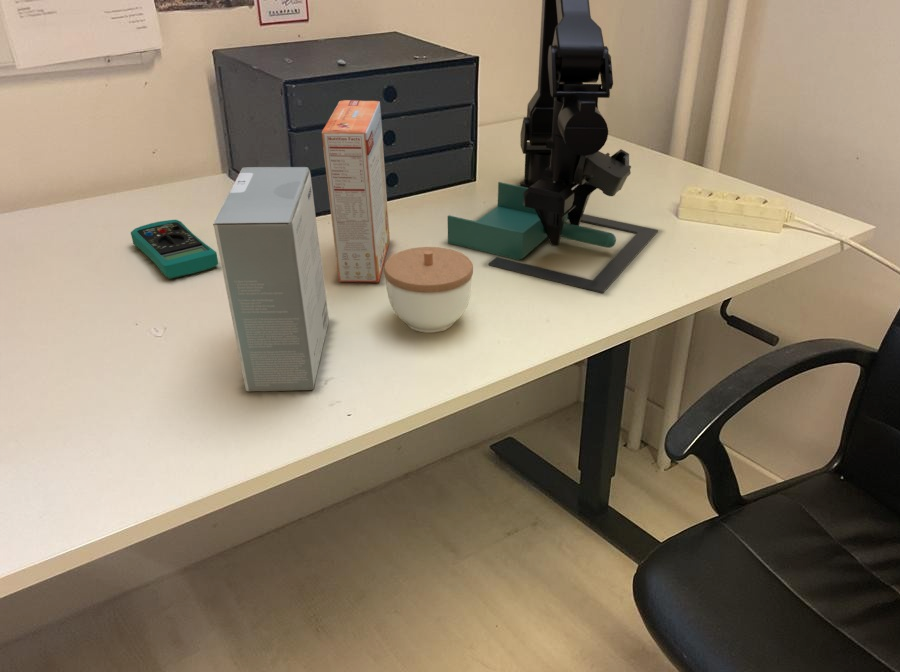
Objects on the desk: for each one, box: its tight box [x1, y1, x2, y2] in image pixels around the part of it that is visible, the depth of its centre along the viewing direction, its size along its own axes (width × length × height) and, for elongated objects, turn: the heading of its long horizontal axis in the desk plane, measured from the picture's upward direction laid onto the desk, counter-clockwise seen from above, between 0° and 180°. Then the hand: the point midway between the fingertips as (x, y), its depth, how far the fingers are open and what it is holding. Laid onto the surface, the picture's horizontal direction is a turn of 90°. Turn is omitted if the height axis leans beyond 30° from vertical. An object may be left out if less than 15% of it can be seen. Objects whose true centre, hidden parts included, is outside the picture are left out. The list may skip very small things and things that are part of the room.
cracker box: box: [321, 99, 391, 283], centre depth 110 cm, size 14×6×21 cm, turn 1°
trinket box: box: [383, 246, 474, 334], centre depth 99 cm, size 11×11×9 cm
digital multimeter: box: [130, 219, 219, 279], centre depth 114 cm, size 7×15×3 cm, turn 39°
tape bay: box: [488, 213, 659, 294], centre depth 121 cm, size 18×24×1 cm
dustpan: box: [447, 181, 617, 261], centre depth 122 cm, size 24×17×4 cm
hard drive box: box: [212, 166, 330, 392], centre depth 89 cm, size 16×8×20 cm, turn 5°
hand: (564, 236), depth 122 cm, fingers open, 7 cm apart
